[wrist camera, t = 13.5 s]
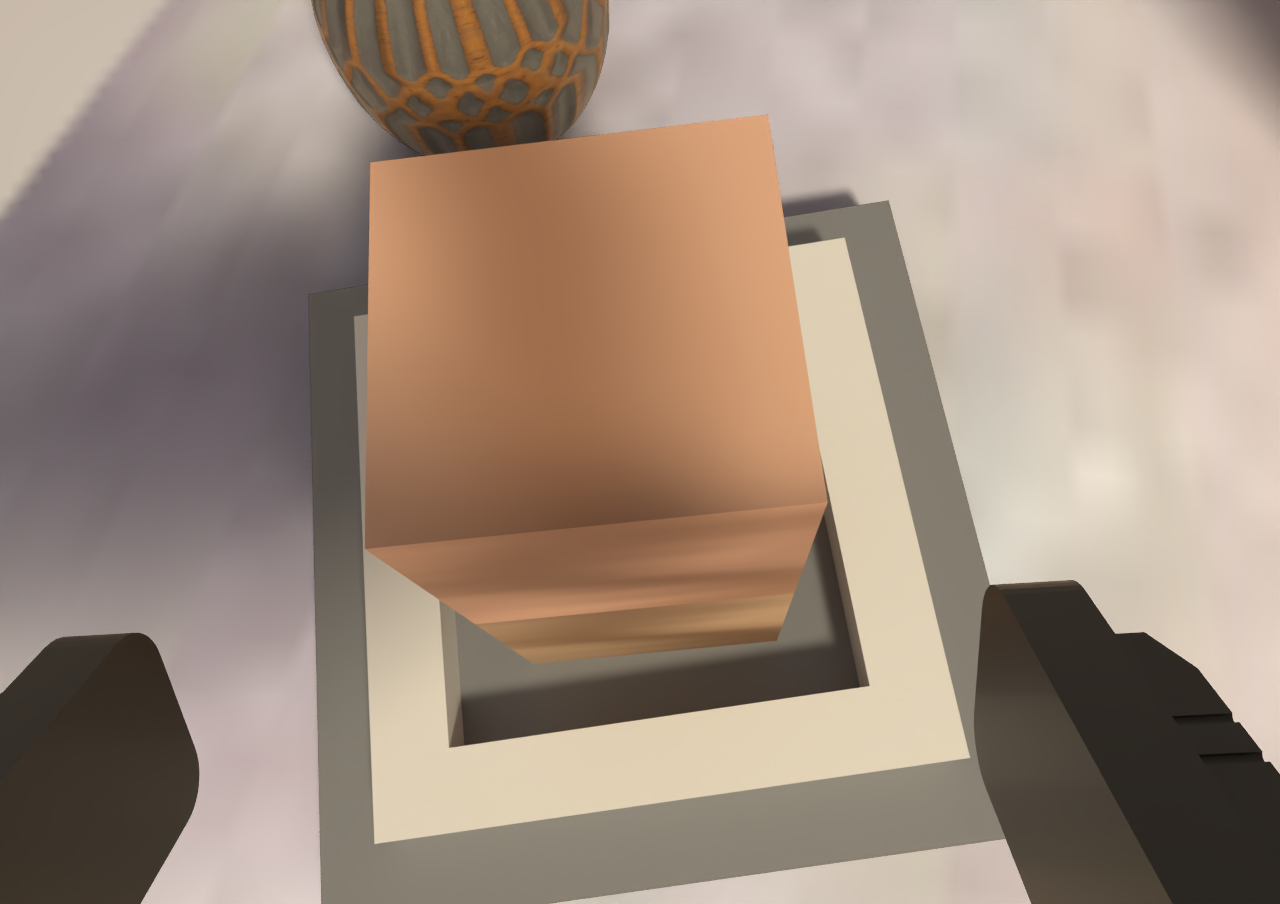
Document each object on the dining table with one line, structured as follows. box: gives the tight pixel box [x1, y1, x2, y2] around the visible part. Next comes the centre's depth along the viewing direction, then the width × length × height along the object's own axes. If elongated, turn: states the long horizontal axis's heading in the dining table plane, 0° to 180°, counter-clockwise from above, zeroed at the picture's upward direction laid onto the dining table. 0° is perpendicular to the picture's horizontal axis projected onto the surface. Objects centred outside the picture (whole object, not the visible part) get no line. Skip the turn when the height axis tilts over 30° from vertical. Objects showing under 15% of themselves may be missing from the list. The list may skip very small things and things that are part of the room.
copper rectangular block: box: [365, 115, 828, 664], centre depth 16 cm, size 5×5×10 cm
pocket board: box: [309, 200, 1006, 904], centre depth 21 cm, size 14×14×3 cm
